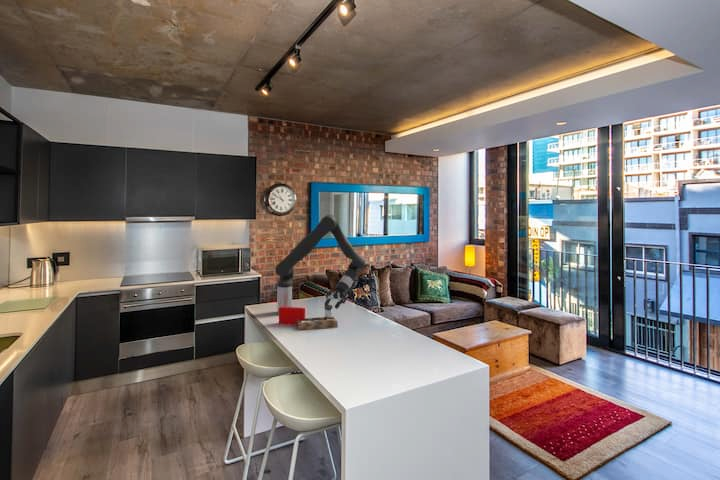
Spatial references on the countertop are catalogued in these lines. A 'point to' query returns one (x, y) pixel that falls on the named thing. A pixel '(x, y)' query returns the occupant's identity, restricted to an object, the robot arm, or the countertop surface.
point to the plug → (328, 311)
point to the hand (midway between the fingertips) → (330, 306)
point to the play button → (291, 315)
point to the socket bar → (316, 323)
